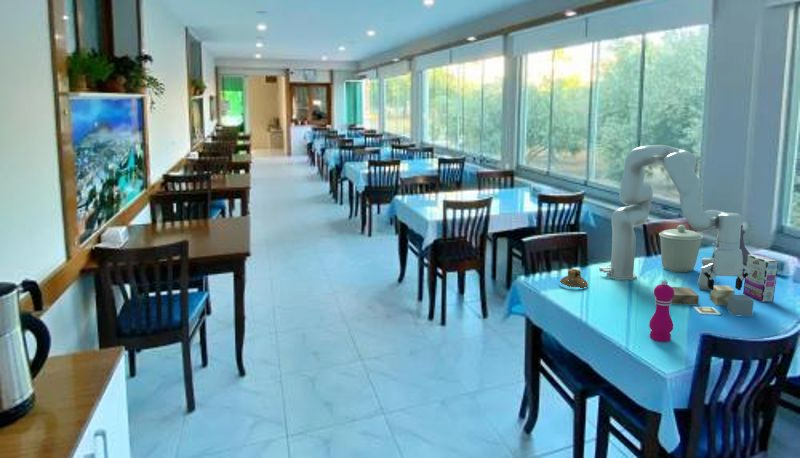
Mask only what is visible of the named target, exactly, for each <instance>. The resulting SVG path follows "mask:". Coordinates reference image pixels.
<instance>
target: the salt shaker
mask: <svg viewBox="0 0 800 458" xmlns="http://www.w3.org/2000/svg"><path fill="white" fill-rule="evenodd" d="M711 259H712V257H703V258H702V259H701V263H702V266H701V268H702V267H704V266H706V265H708V264H710V263H711ZM700 270H701V269H700ZM710 272H711V271H710V269H707V273H708V274H709V273H710ZM707 284H708V278H707V277H706V276H705V275H704V274H703V272H702V270H701V271H700V274H699V277H698V280H697V285H698V287H699V289H700V290H703V291H711V289H709V288H708V286H707Z"/></svg>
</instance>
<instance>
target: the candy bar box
mask: <svg viewBox="0 0 800 458" xmlns="http://www.w3.org/2000/svg"><path fill="white" fill-rule="evenodd" d="M779 263H780V262H779V261H778V260H776V259H773V258H771V257H767V256H764V255H761V254H751V255H748V256H747V265H746V266H747V267H749V268H751V271H750V273H749V274H748V276H747V277H745V278H744V281H743V282H744V283H743V291H742V292H743V294H742V295H747V296H748V297H750V298H751V299H753V300H756V301H758V302H761V303H774V299H775V291H776V290H775V289H776V284H777V283H776V282H777V275H778V268H779Z"/></svg>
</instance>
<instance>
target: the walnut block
mask: <svg viewBox="0 0 800 458" xmlns="http://www.w3.org/2000/svg"><path fill="white" fill-rule="evenodd" d="M671 287H672V288H673V290H674V296H673V298H671V300H672V302H671V303H672V304H671V305H689V306H690V305H695V306H696V305H699V301H700V300H699V298H700V295H699V294H698V293H697V292H696V291H694V289H692V288H691V287H690V286H686V287H685V286H684V287H683V286H671Z"/></svg>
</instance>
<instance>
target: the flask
mask: <svg viewBox="0 0 800 458" xmlns="http://www.w3.org/2000/svg"><path fill="white" fill-rule="evenodd" d="M745 233H746V231H745V230H743V225H742V224H741V235H740V246H739V249H741V250H742V256H743V265H745V266H746V265H747V256H748V255H752V253H750V252H749V250H748V249H747V248H746V246H745V241H744V235H745ZM743 271H745V269H743Z"/></svg>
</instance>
